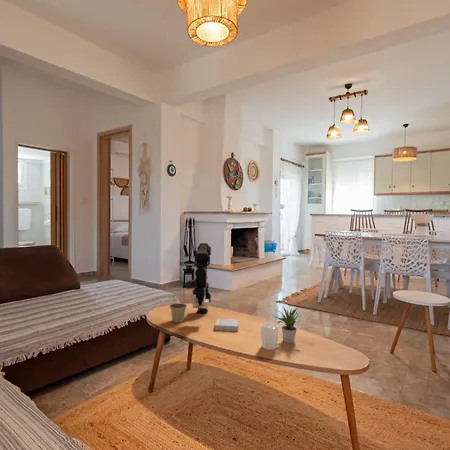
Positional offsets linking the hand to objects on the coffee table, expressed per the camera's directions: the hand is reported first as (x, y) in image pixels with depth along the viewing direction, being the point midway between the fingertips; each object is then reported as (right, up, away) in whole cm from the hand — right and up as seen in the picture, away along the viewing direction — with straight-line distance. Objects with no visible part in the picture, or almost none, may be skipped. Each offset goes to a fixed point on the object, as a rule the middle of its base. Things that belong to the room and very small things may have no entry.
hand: (200, 303), depth 178 cm
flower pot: (-13, -11, +3) cm, 17 cm away
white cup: (+33, -13, -29) cm, 46 cm away
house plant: (+44, -13, -20) cm, 50 cm away
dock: (+14, -11, -4) cm, 19 cm away
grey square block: (0, +2, 0) cm, 2 cm away
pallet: (0, -2, 0) cm, 2 cm away
